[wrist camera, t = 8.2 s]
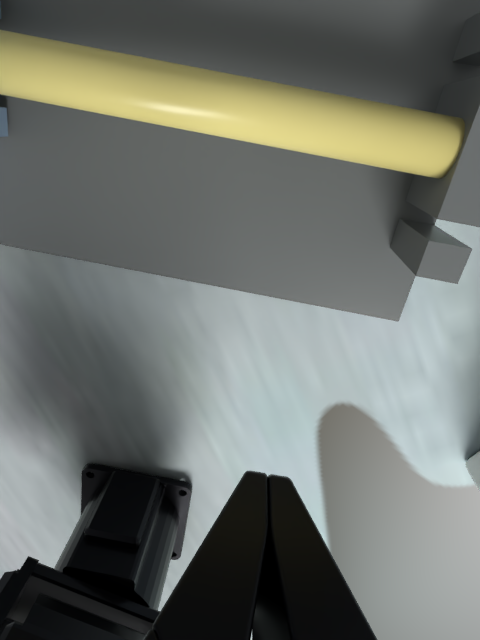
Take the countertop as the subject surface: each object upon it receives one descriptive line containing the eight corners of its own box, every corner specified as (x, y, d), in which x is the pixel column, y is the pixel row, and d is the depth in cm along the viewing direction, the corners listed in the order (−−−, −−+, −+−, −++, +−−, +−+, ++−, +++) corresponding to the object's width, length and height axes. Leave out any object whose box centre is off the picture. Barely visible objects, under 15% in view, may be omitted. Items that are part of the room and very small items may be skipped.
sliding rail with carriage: (392, 312, 19) (437, 384, 14) (-158, 205, 19) (-327, 235, 14) (535, -80, 13) (710, -223, 8) (-258, -231, 14) (-620, -472, 8)
